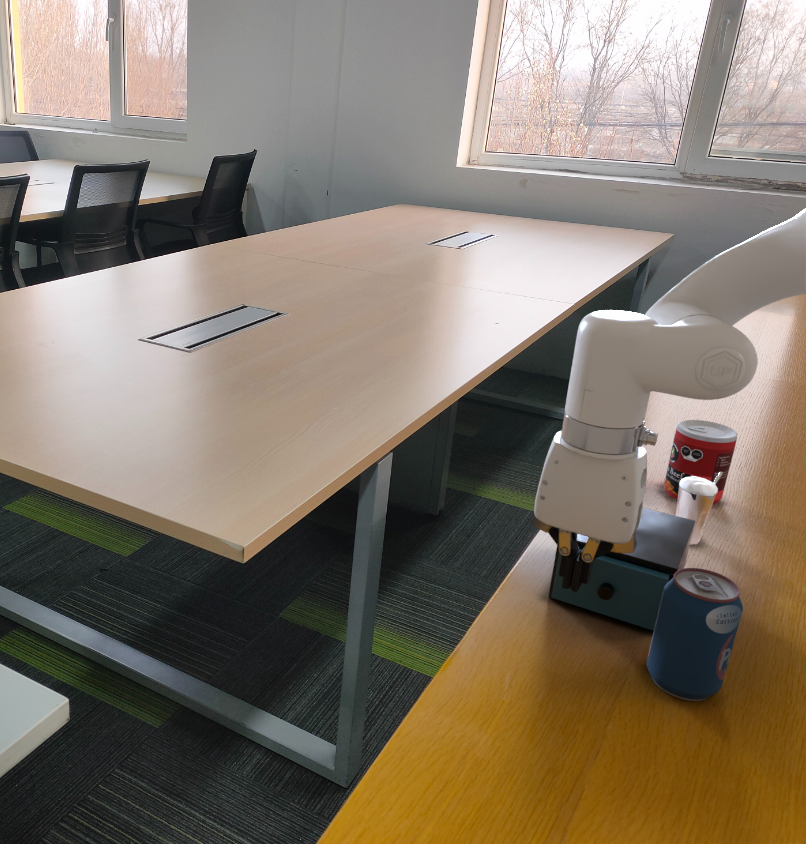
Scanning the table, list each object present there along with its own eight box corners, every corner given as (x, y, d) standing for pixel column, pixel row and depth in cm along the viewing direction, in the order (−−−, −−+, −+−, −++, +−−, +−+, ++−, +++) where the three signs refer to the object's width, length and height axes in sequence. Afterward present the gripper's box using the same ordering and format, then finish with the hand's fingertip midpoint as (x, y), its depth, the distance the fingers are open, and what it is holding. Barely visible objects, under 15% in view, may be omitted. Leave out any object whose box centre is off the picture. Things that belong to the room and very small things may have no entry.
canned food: (657, 481, 127) (671, 417, 123) (711, 486, 126) (727, 421, 122) (670, 503, 120) (686, 436, 116) (728, 509, 119) (746, 440, 115)
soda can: (729, 710, 79) (759, 607, 74) (654, 700, 80) (678, 598, 76) (706, 665, 85) (732, 568, 81) (636, 657, 86) (658, 560, 82)
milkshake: (717, 545, 109) (734, 479, 105) (681, 548, 108) (697, 481, 104) (694, 529, 113) (710, 465, 109) (660, 532, 112) (674, 467, 109)
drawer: (653, 637, 88) (666, 584, 86) (548, 602, 94) (557, 552, 92) (674, 581, 99) (685, 533, 96) (578, 553, 105) (586, 507, 102)
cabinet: (662, 634, 90) (677, 569, 87) (547, 597, 97) (558, 535, 94) (680, 581, 101) (695, 520, 97) (576, 550, 107) (587, 493, 104)
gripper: (687, 437, 81) (652, 592, 88) (538, 407, 89) (516, 550, 96) (674, 462, 76) (637, 625, 82) (516, 427, 84) (495, 578, 90)
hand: (572, 584), depth 89 cm, fingers closed
